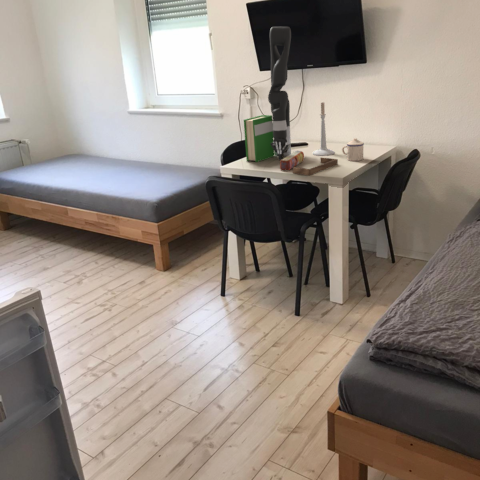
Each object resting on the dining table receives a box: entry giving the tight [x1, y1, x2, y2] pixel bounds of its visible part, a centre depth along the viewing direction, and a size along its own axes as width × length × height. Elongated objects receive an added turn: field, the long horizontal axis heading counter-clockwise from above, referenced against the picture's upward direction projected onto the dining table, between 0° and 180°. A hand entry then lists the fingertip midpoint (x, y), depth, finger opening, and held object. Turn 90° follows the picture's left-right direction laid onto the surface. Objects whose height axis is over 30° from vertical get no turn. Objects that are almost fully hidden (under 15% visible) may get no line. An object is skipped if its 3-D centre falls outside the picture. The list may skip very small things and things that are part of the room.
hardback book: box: [243, 114, 275, 163], centre depth 303 cm, size 18×7×24 cm, turn 141°
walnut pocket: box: [292, 157, 339, 176], centre depth 272 cm, size 10×26×3 cm, turn 137°
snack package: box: [279, 150, 305, 171], centre depth 282 cm, size 21×7×7 cm, turn 153°
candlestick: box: [312, 101, 335, 157], centre depth 302 cm, size 13×13×30 cm
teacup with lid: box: [341, 137, 365, 162], centre depth 285 cm, size 12×9×12 cm
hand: (281, 160), depth 287 cm, fingers closed
